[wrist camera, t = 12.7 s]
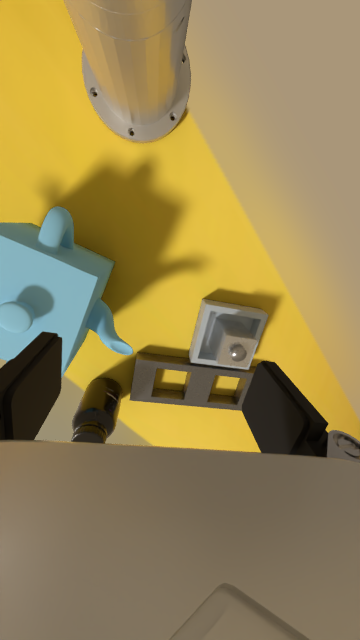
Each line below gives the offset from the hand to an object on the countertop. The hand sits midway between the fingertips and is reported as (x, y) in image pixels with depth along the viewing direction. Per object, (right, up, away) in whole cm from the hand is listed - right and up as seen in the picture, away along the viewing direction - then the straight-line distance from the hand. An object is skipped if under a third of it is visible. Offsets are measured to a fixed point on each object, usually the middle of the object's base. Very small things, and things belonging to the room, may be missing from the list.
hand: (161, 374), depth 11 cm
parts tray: (+9, 0, +32) cm, 33 cm away
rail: (+4, -9, +35) cm, 36 cm away
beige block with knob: (+9, 0, +31) cm, 32 cm away
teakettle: (-18, +7, +26) cm, 32 cm away
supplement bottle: (-14, -11, +34) cm, 38 cm away
